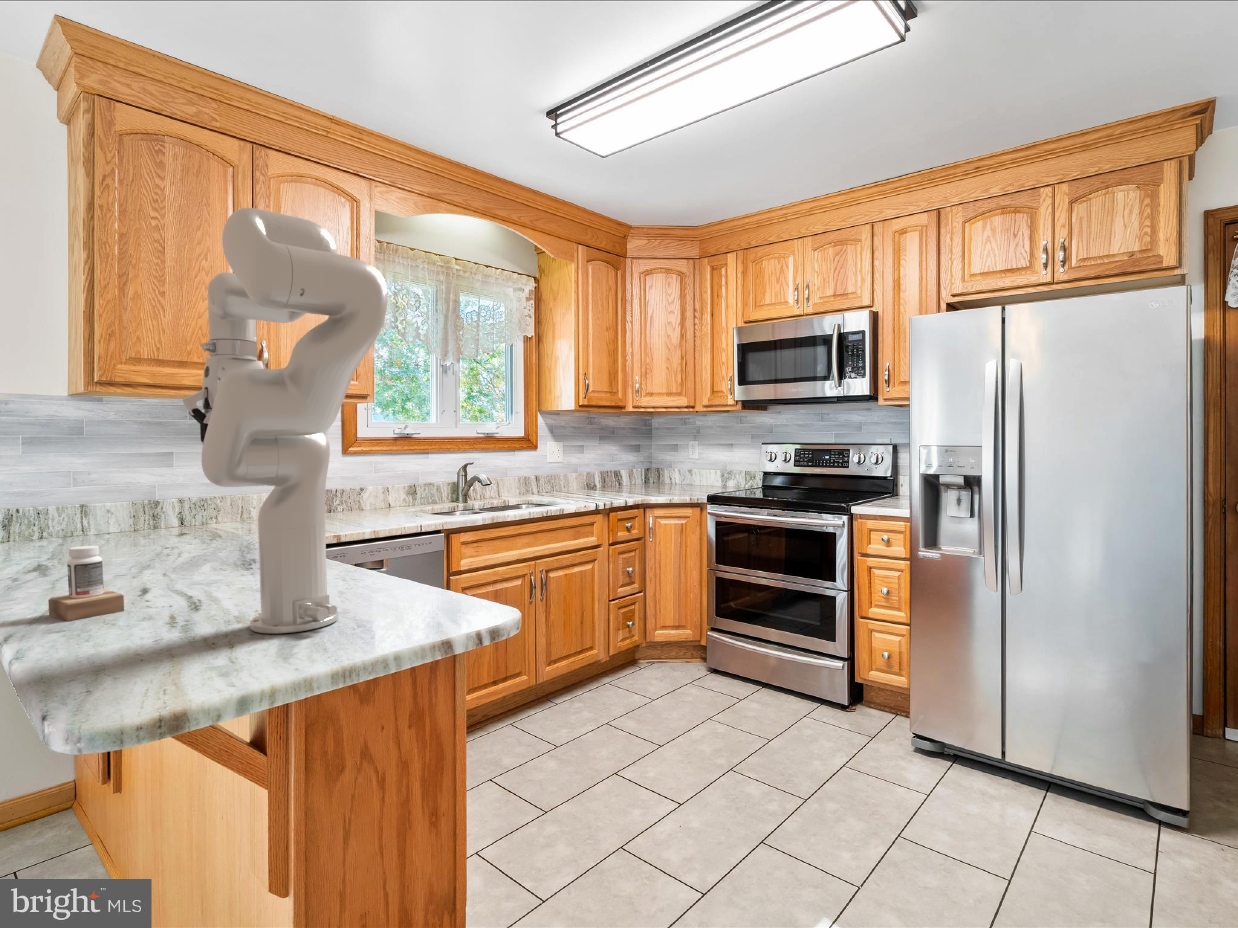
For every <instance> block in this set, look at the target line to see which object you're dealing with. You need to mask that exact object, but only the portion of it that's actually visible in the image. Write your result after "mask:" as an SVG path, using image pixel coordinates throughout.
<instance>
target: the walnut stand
mask: <svg viewBox="0 0 1238 928" xmlns="http://www.w3.org/2000/svg"><path fill="white" fill-rule="evenodd" d="M124 597H125V596H124V594H122V593H120V592H117V591H111V590H108V589H104V593H103V594H101V595H98V596H93V597H87V598H70V597H69V594H64V595H58V596H57V595H56V596H53V597H50V598H49V599H48V602H47V603H48V615H49V616H51V617H54V618H56V619H59V620H63V621H66V622H71V621H76V620H82V619H86V618H92V617H97V616H103V615H108V614H113V613H119V612H124V611H125V600H124V599H125V598H124Z"/></svg>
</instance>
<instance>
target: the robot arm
mask: <svg viewBox="0 0 1238 928" xmlns="http://www.w3.org/2000/svg"><path fill="white" fill-rule="evenodd" d="M224 224H225V225H224V227H223V231H222V237H221V238H222V250H223V254H224V256H225V259H226V261H227V263H228V266H229V267H230V269H231V270H232V272H220V273H218V274H216V275H215V276H214V277H213V279H212V280H211V279H210V281H209V284H208V289H207V307H208V308H207V309H208V336H209V337H208V339H209V340H208V342H202V345H201V350H202V351H206V352H208V356H209V357H207V358H206V360H205V362H204V363H205V364H204V368H203V369H204V370H203V377H202V388H201V390H200V391H198V392H194V393H193V394H190V395H188V396H186V397H184V398H182V402H183V404H184V407H185V408H186V410H187V411H188V414H189V415H190V416H191V417H192V418H193V420H195V421H196V423H197V425H198V424H199V429H200V432H199V433H200V442H201V443H202V450H201V467H202V472H203V475H205V477H206V479H207V480H208V481H209V482H211V483H212V484H213V485H215V486H218V487H224V488H238V487H239V488H242V487H243V488H244V487H259V486H260V487H261V486H263V487H264V486H267V487H268V486H269V487H274V488H273V489H272V490H271V492H270V493H269V494H268V496H267V497H266V499H265V500H264V501H263V503H262V504H261V507H260V508H259V512H258V517H257V527H258V530H257V531H258V557H259V558H258V561H259V562H258V563H259V588H260V590H259V591H260V592H259V593H260V615H258V616H255V617H254V618H253V617H252V619H251V620H249V621H250V622H249V626H250V628H249V629H250V630H251V631H253V632H256V633H261V634H272V635H273V634H288V633H289V634H291V633H299V632H304V631H311V630H316V629H319V628H323V627H326V626H329V625H331V624H333V623H335V622H337V621H338V619H339V611H338V608H337V606H336V605H334V604H330V594H328V583H327V581H328V578H327V575H328V574H327V573H328V572H327V548H326V547H327V545H326V544H327V543H326V542H327V541H326V539H327V538H326V485H327V477H328V471H329V470H328V469H329V463H330V455H331V452H330V451H331V450H330V443H329V440H328V437H327V436H326V435H325V432H327V431H328V430H329V429H330V428H331V427H332V425H333V424H334V422H335V421H336V418H337V416H338V415H339V411H340V410H341V407H342V406H343V405H342V404H343V402H344V399H345V397H346V395H347V392H348V390H349V387H350V386H351V385H350V384H351V383H352V380H353V377H354V374H355V372H356V370H357V369H358V367H359V365H360V364H361V362H362V361H363V359H364V358H365V356H366V355H367V353H369V350H370V349H371V348H372V346H373V344H374V343H375V342H376V340H377V338H378V337H379V335H380V332H381V331H382V328H383V325H384V322H385V319H386V316H387V310H388V287H387V282H386V281H385V278H384V276H383V274H382V273H381V272H380V271H379V270H378V269H377V268H376V267H374V266H373V265H371V264H369V263H367V262H365V261H364V260H360V259H358V258H355V257H351V256H348V255H344V254H339V253H338V254H337V245H336V243H335V242H336V241H335V240H334V238H333V237H332V235H331V233H330V232H329V231H327V230H326V228H324V227H323V226H322V225H320V224H319V223H317V222H315V221H314V222H313V221H311V220H308V219H304V218H302V217H298V216H292V215H288V214H283V213H279V212H274V211H273V212H272V211H269V210H264V209H260V208H254V207H243V208H239V209H237V210H235V211H234V212H232V213H231V215H230V216H229V217H228V219H227V220H226V223H224ZM306 314H311V315H319V316H320V315H321V316H328V318H327V319H325V321H323V322H320V323H319V324H318V325H316V326H314V327H313V328H311V329H310V330H309V331H308V332H306V333H305V334H304V335H303V336H302V337H301V338H300V339H299V340H297V342H296V344H295V345H294V347H293V349H292V351H291V355H290V358H289V361H288V362H287V365H286V366H285V367H283V368H278V369H277V368H275V369H274V368H273V369H272V368H264V363H263V361H262V360H258V347H257V346H258V341H257V340H258V339H257V321H260V322H261V321H262V322H269V323H270V322H271V323H278V324H279V323H280V324H288V323H293V322H295V321H297V320H299V319H301V318H302V317H304V316H305V315H306ZM200 401H201V402H202V409H203V411H202V410H201V409H200V408H199V407H198V405H197V403H198V402H200Z"/></svg>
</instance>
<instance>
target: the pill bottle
mask: <svg viewBox="0 0 1238 928" xmlns="http://www.w3.org/2000/svg"><path fill="white" fill-rule="evenodd" d="M99 548H100V547H99V546H98V545H82V546H75V547H74V546H73V547H70V548H69V549H68V556H69V558H70V559H68V560H67V562H66V563H67V564H66V565H67V567H66V568H67V585H68V586H67V587H68V595H69V597H70V598H87V597H93V596H98V595H101V594H103V593H104V572H103V571H104V569H103V558H102V557H101V556H100V549H99Z"/></svg>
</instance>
